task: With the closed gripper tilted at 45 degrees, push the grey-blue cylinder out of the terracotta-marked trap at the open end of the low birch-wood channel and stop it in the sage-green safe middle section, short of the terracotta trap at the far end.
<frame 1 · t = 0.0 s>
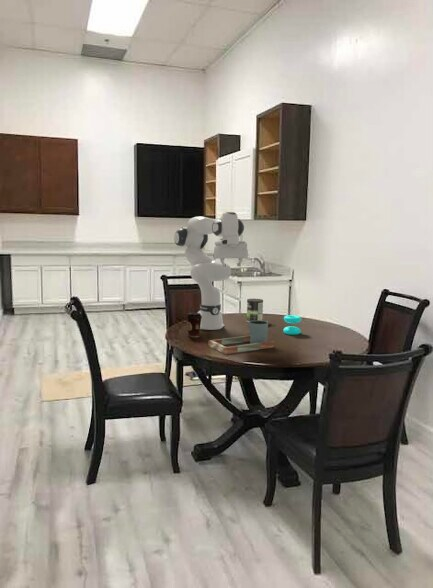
hand: (231, 266, 268), 39 cm above the table, tool pointing down, fingers open, 8 cm apart
grey-blue cylinder: (258, 344, 256), on the table
coffee cup: (193, 336, 272), on the table
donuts: (292, 333, 282), on the table
coffee can: (254, 321, 314), on the table
trap channel: (240, 346, 251), on the table
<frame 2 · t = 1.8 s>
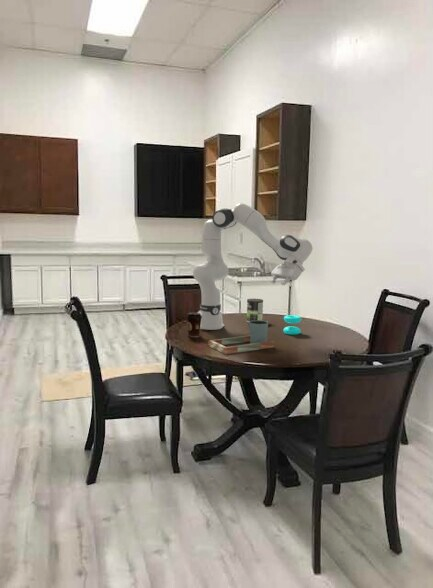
hand: (277, 283, 264), 31 cm above the table, tool tilted 45°, fingers open, 8 cm apart
nothing on the table moved.
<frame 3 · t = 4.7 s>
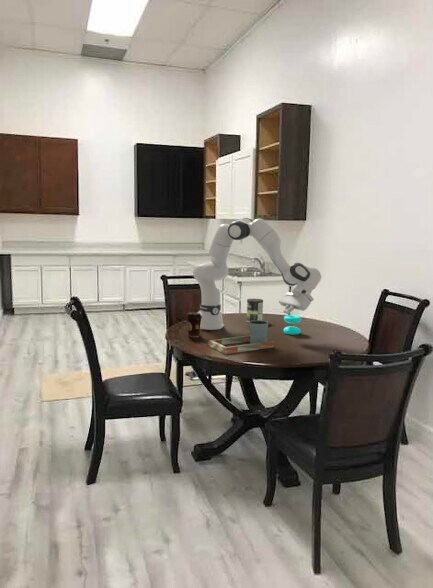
hand: (285, 312, 262), 15 cm above the table, tool tilted 45°, fingers closed
nothing on the table moved.
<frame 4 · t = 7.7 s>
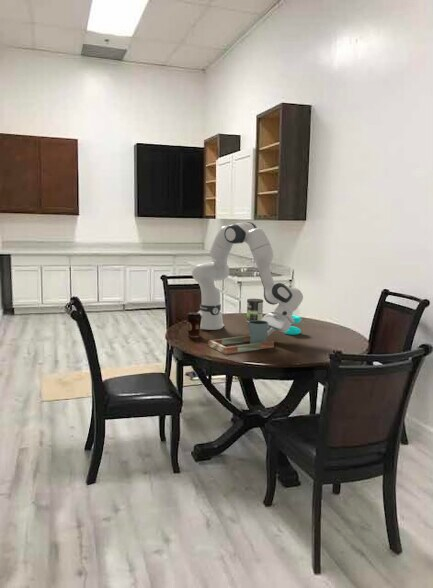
hand: (266, 334, 258), 5 cm above the table, tool tilted 45°, fingers closed, pressing on grey-blue cylinder
grey-blue cylinder: (257, 344, 256), on the table, touching gripper
everything else where it was.
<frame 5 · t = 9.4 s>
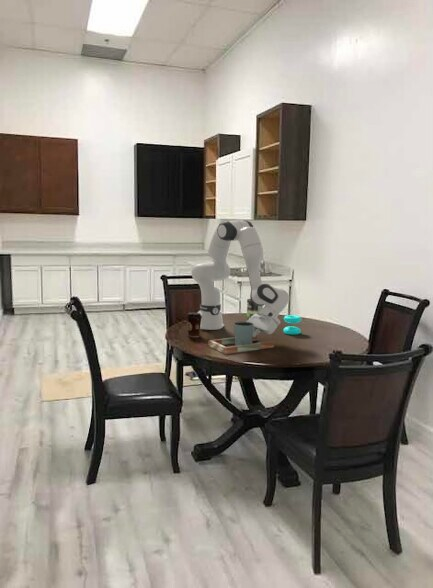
hand: (251, 336, 253), 5 cm above the table, tool tilted 45°, fingers closed, pressing on grey-blue cylinder
grey-blue cylinder: (243, 346, 252), on the table, touching gripper
everything else where it was.
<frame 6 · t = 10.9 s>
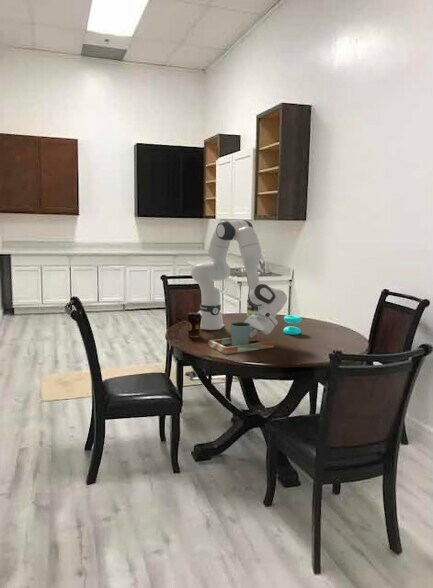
hand: (249, 336, 253), 5 cm above the table, tool tilted 45°, fingers closed
grey-blue cylinder: (239, 347, 251), on the table
everything else where it was.
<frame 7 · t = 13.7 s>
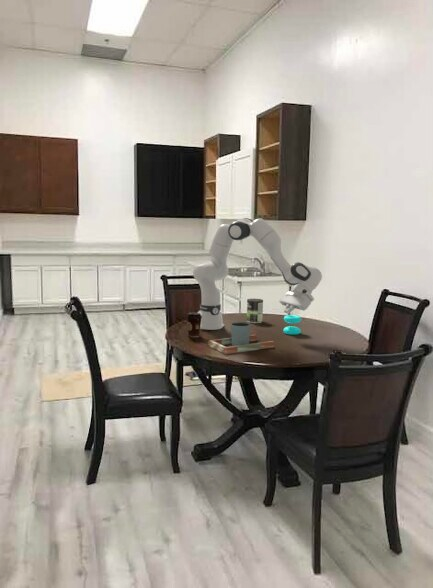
hand: (286, 312, 262), 16 cm above the table, tool tilted 45°, fingers closed
nothing on the table moved.
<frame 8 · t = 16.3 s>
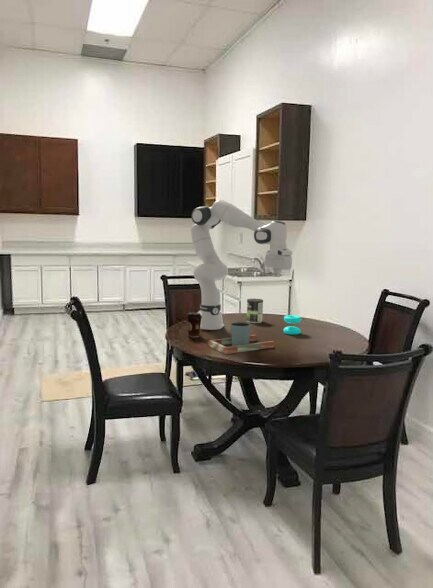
hand: (277, 276, 266), 34 cm above the table, tool pointing down, fingers closed
nothing on the table moved.
at the end: grey-blue cylinder inside the target area (0.1 cm from its centre), on the table; grey-blue cylinder tilted 0°; grey-blue cylinder moved 11.1 cm from its start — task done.
